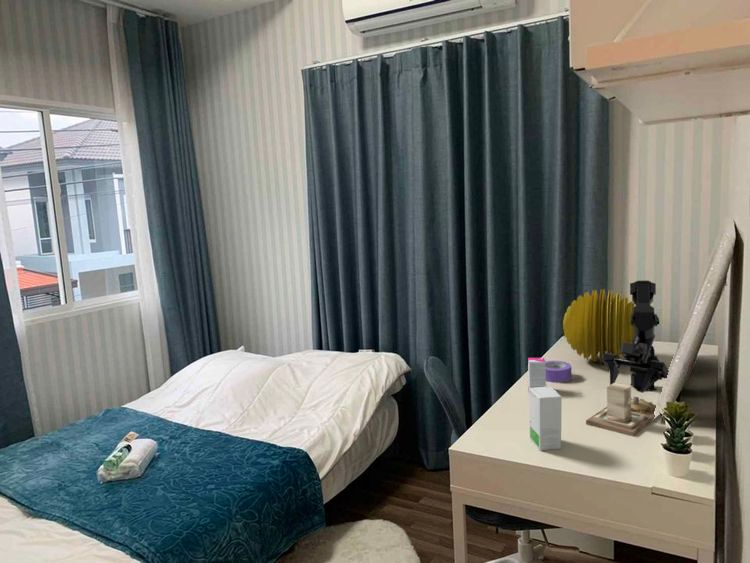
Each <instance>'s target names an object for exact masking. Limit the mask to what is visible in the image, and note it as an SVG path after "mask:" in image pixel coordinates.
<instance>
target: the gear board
mask: <svg viewBox="0 0 750 563" xmlns="http://www.w3.org/2000/svg"><path fill="white" fill-rule="evenodd" d="M656 405H657V404H654V402H651V401H646V400H645V399H644V398H640V397H638V396H633V398H632V397H631V414H632V421H630V422H627V423H619V422H615V421H611V420H608V419H607V406H606V407H604V408H602V409H601V410H600V411H598V412H596V413H595V414H593V415H592V416H590V417H589V418H587V419H586V420H585V424H586V425H588V426H592V427H597V428H601V429H605V430H608V431H611V432H614V433H615V432H616V433H619V434H623V435H626V436H631V437H634V436H635V435H637V434H638V433H639V432H641V431H642V430H643V429H644V428H646V427H647V426H648V425H649V424H650V423H652V422H654V420H655V419H654V417H655V415H654V411H655V408H656ZM653 419H654V420H653Z"/></svg>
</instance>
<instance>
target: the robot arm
mask: <svg viewBox="0 0 750 563" xmlns="http://www.w3.org/2000/svg"><path fill="white" fill-rule="evenodd" d="M656 288H657V284H656V282H655V283H654V282H652V281H651V280H644V279H643V280H642V279H641V280H636V281H634V282H631V283H629V295H630V296H631V298H632V300H631V301H633V303H634V308H633V314H631V326H633V327H634V334H635V335H634V338H633V341H632V343H629V344H628V343H622V344H621V349H620V353H623V355H622V357H623V358H624V359H622V358H621V359H619V358H618V356H617V354H611V353H605V354H603V356H602V363H603V362H604V364H603V365H605V367H606V368H608V369H609V386H610V385H611V384H613V383H616V380H617V378H618V376H619V374H620V370H619V369H620V368H621V366H622V367H626V368H627V367H628V368H629V371H630V372H632V373H631V374H630V385H629V386H631V388H634V389H635V391H636V390H637V391H638V392H639V391H640V392H641V393H642V394H643V393H644V392H645V391H656V390H657V387H655V383H656V382H658V381H662V380H663V379H668V377H667V375H668V376H669V374H668V372H669V373H670V370H669V368H668V367H667V365H666V363H665V361H661V360H659V359H658V355H655V354H656V353H655V348H654V347H655V346H653V344H654V340H655V338H656V334H655V327H658V325H660V318H659V316H658V314H657V313H655V308H654V306H652V303H653V302H654V296H656V294H657V290H656ZM630 372H629V373H630Z"/></svg>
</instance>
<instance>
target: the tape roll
mask: <svg viewBox="0 0 750 563" xmlns="http://www.w3.org/2000/svg"><path fill="white" fill-rule="evenodd" d="M545 362H546V382H548V383H555V382H556V383H558V382H559V383H566V382H569V381H571V380H572V379H571V378H573V377H572V371H573V370H572V365H571V363H570V362H566V361H562V360H545ZM565 381H566V382H565Z"/></svg>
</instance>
